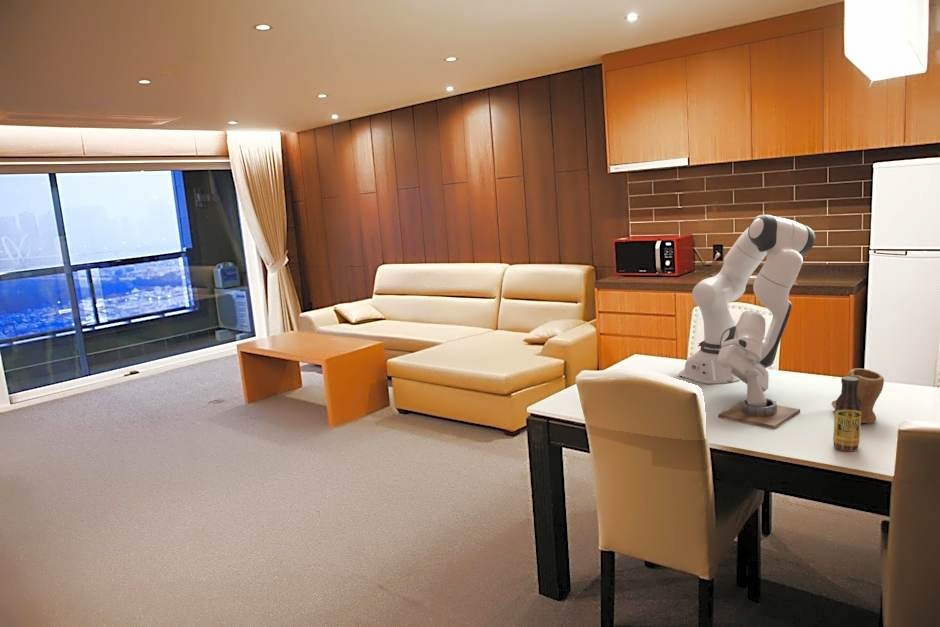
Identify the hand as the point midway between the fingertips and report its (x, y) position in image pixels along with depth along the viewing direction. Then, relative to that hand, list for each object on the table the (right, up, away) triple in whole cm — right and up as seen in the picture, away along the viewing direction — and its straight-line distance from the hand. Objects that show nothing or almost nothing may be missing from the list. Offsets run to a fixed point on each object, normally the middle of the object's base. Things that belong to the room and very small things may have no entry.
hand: (740, 389), depth 215 cm
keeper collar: (+6, -8, 0) cm, 10 cm away
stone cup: (+32, -7, -9) cm, 34 cm away
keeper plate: (+6, -8, 0) cm, 10 cm away
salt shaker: (+5, -6, -2) cm, 8 cm away
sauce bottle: (+17, -13, -30) cm, 37 cm away
